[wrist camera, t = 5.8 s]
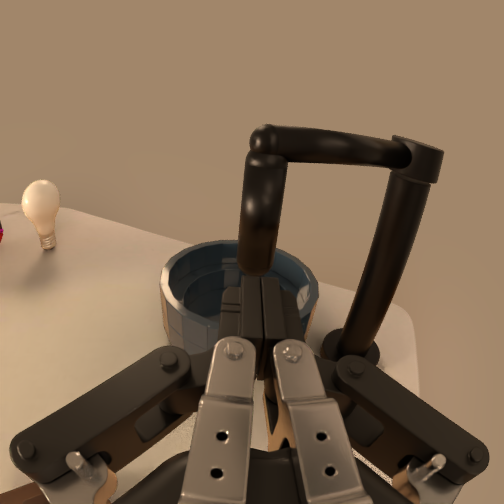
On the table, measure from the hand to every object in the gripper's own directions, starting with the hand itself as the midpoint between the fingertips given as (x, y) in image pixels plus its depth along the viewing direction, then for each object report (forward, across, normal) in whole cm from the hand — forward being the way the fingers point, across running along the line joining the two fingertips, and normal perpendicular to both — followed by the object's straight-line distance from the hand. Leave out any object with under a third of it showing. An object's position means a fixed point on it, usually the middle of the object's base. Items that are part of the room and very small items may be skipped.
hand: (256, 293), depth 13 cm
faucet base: (+9, -11, +14) cm, 20 cm away
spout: (+7, -6, +2) cm, 9 cm away
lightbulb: (+25, +30, +14) cm, 41 cm away
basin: (+13, 0, +14) cm, 19 cm away
